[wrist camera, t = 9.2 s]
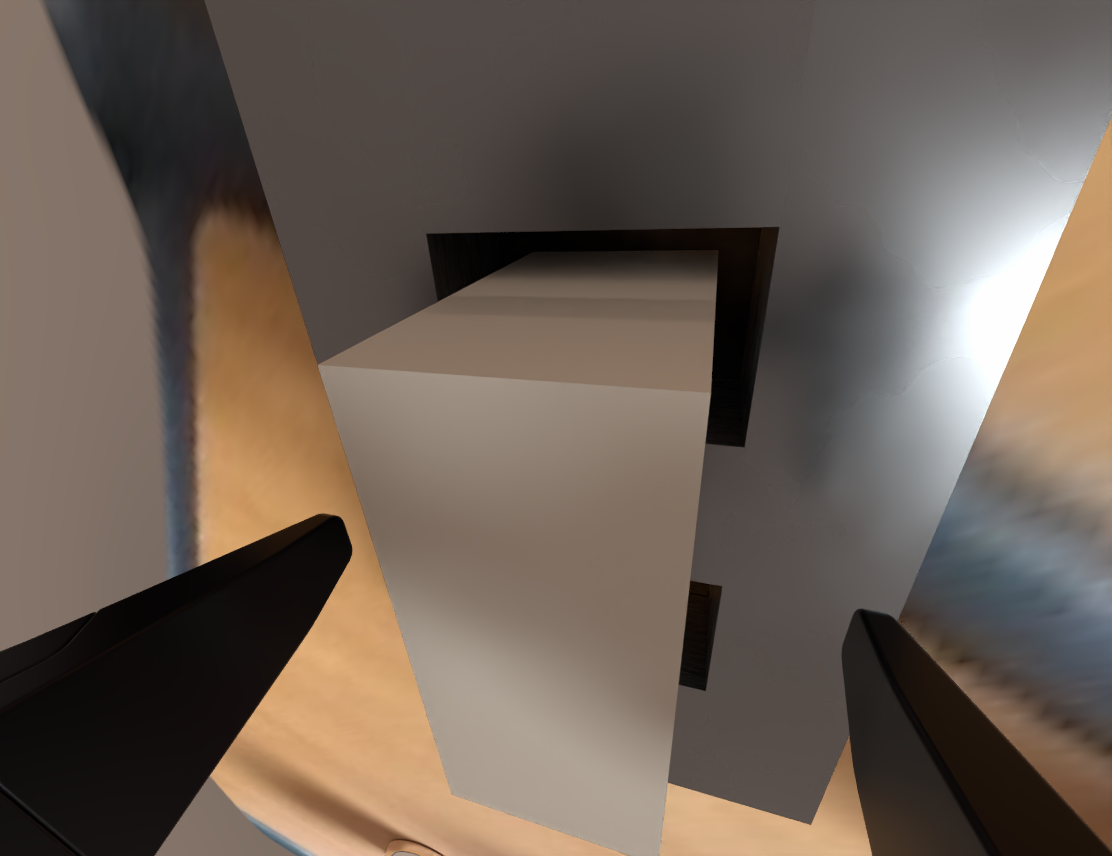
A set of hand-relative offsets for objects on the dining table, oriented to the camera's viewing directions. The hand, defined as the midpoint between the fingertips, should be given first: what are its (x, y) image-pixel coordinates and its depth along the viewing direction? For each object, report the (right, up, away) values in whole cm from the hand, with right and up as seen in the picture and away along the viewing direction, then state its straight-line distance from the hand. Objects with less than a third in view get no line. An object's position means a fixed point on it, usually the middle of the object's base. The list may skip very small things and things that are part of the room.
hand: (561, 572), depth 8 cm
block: (+2, +2, +4) cm, 5 cm away
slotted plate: (+2, +2, +4) cm, 5 cm away
